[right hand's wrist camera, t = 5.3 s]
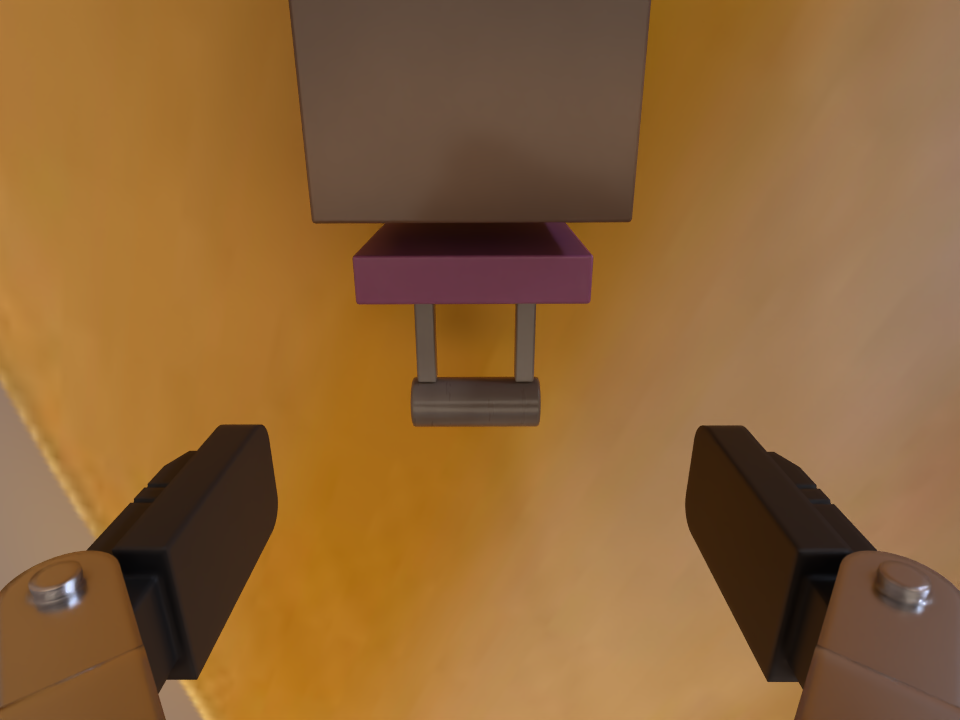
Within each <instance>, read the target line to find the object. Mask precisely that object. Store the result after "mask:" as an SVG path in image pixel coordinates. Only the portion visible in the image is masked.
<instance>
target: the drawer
mask: <svg viewBox="0 0 960 720" xmlns="http://www.w3.org/2000/svg"><path fill="white" fill-rule="evenodd" d="M353 269H354V281H355V293H356V302H357V304H414V311H415V333H416V354H417V376H418V377H415V378H414V379H413V382H412V388H411V417H412V423H413V425H414V426H416V427H486V426H538V425H539V422H540V409H541V399H540V384H539V380H538V378H537V377H534V353H535V321H536V304H587V303H589V302H590V299H591V284H592V269H593V256H592V254H591V253H590V252H589V251H588V250H587V248H586V247H585V246H584V245H583V244H582V242H581V241H580V240H579V239H578V238H577V236H576V235H575V234H574V233H573V232H572V230H571V229H570V228H569V227H568V226H567V224H566V223H565V222H540V223H385V224H384V225H383V226H382V227H381V228H380V229H379V230H378V231H377V232H376V233H375V234H374V236H373V237H372V238H371V239H370V240H369V241H368V242H367V243H366V244H365V245H364V246H363V247H362V248H361V249H360V250H359V251H358V252H357V253H356V254H355V255H354V256H353ZM435 304H515V354H514V377H437V375H438V374H437V344H436V314H435Z"/></svg>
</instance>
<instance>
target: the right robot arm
mask: <svg viewBox="0 0 960 720" xmlns="http://www.w3.org/2000/svg"><path fill="white" fill-rule="evenodd" d="M277 509H278V497H277V490H276V483H275V476H274V469H273V463H272V456H271V449H270V442H269V436H268V432H267V430H266V428H265V427H264V426H263V425H220V426H218V427H217V428H216V429H215V431H214V432H213V433H212V434H211V435H210V436H209V438H208V439H207V440H206V441H205V442H204V443H203V445H202V446H201V447H200V448H199V449H198V450H197V451H189V452H187V453H185V454H184V455H182V456H180V457H179V458H177V459H175V460H174V461H172V462H170V463H169V464H167V465H165V466H164V467H163V468H162V469H161V470H160V471H159V472H158V473H157V474H156V476H155V477H154V478H153V479H152V480H151V481H150V482H149V483H148V487H147V488H144V489H143V490H142V491H141V492H140V493H139V494H138V495H137V496H136V497H135V498H134V503H130V504H129V505H128V506H127V507H126V508H125V509H124V510H123V511H122V512H121V514H120V515H119V516H118V517H117V518H116V519H115V520H114V521H113V522H112V523H111V524H110V526H109V527H108V528H107V529H106V530H105V531H104V532H103V533H102V534H101V535H100V536H99V537H98V539H97V540H96V541H95V542H94V543H93V544H92V545H91V546H90V547H89V548H88V549H87V550H86V551H79V552H73V553H68V554H64V555H61V556H57V557H54V558H52V559H49V560H46V561H44V562H42V563H39V564H37V565H35V566H33V567H31V568H30V569H28V570H26V571H24V572H23V573H21V574H20V575H18V576H17V577H16V578H14V579H13V580H12V581H11V582H9V583H8V584H7V585H6V586H5V587H4V588H3V589H2V590H1V591H0V720H166V719H165V716H164V712H163V709H162V705H161V702H160V699H159V695H158V694H159V692H160V690H161V688H162V686H163V685H164V683H165V681H166V680H197V679H198V677H199V675H200V673H201V671H202V669H203V667H204V665H205V663H206V661H207V659H208V657H209V655H210V653H211V651H212V649H213V647H214V645H215V643H216V641H217V639H218V637H219V635H220V633H221V631H222V630H223V628H224V626H225V624H226V622H227V620H228V618H229V616H230V614H231V612H232V610H233V608H234V606H235V604H236V602H237V600H238V598H239V596H240V594H241V592H242V590H243V588H244V586H245V584H246V582H247V580H248V578H249V576H250V574H251V573H252V571H253V569H254V567H255V565H256V563H257V561H258V559H259V557H260V555H261V553H262V551H263V549H264V547H265V545H266V543H267V541H268V539H269V537H270V535H271V533H272V531H273V529H274V526H275V522H276V518H277ZM685 509H686V518H687V523H688V527H689V530H690V532H691V534H692V536H693V538H694V540H695V542H696V544H697V546H698V548H699V550H700V552H701V553H702V555H703V557H704V559H705V561H706V563H707V565H708V567H709V569H710V571H711V573H712V575H713V577H714V579H715V581H716V583H717V585H718V586H719V588H720V590H721V592H722V594H723V596H724V598H725V600H726V602H727V604H728V606H729V608H730V610H731V612H732V614H733V616H734V618H735V620H736V621H737V623H738V625H739V627H740V629H741V631H742V633H743V635H744V637H745V639H746V641H747V643H748V645H749V647H750V649H751V651H752V653H753V654H754V656H755V658H756V660H757V662H758V664H759V666H760V668H761V670H762V672H763V674H764V676H765V678H766V680H767V682H799V683H800V685H801V687H802V689H803V692H802V695H801V698H800V702H799V705H798V709H797V712H796V716H795V719H794V720H960V591H959V590H958V589H957V588H956V587H955V586H954V585H953V584H952V583H951V582H949V581H948V580H947V579H946V578H945V577H943V576H942V575H940V574H939V573H937V572H936V571H934V570H932V569H930V568H929V567H927V566H925V565H923V564H921V563H918V562H916V561H914V560H911V559H908V558H906V557H903V556H899V555H896V554H892V553H887V552H881V551H877V550H876V549H875V548H874V547H873V546H872V544H871V543H870V542H869V541H868V540H867V539H866V538H865V537H864V536H863V535H862V534H861V533H860V532H859V530H858V529H857V528H856V527H855V526H854V525H853V524H852V523H851V522H850V521H849V520H848V519H847V518H846V517H845V515H844V514H843V513H842V512H841V511H840V510H839V509H838V508H837V507H836V506H835V505H834V504H831V503H830V499H829V498H828V497H827V496H826V495H825V494H824V493H823V492H822V491H821V490H820V489H817V488H816V484H815V483H814V482H813V481H812V480H811V479H810V478H809V477H808V476H807V475H806V473H805V472H804V471H803V470H802V469H801V468H800V467H798V466H797V465H795V464H793V463H792V462H790V461H788V460H787V459H785V458H783V457H782V456H780V455H778V454H777V453H775V452H766V450H765V449H764V448H763V447H762V446H761V445H760V443H759V442H758V441H757V440H756V439H755V438H754V437H753V435H752V434H751V433H750V432H749V431H748V430H747V429H746V428H745V427H744V426H700V427H699V428H698V429H697V431H696V434H695V438H694V445H693V451H692V458H691V465H690V471H689V478H688V485H687V491H686V499H685Z"/></svg>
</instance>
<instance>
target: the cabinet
mask: <svg viewBox="0 0 960 720" xmlns="http://www.w3.org/2000/svg"><path fill="white" fill-rule="evenodd" d="M650 6H651V0H289V8H290V18H291V27H292V37H293V46H294V55H295V65H296V74H297V84H298V93H299V102H300V112H301V121H302V131H303V140H304V149H305V159H306V168H307V178H308V187H309V197H310V206H311V215H312V221H313V223H540V222H630V221H631V219H632V212H633V200H634V189H635V177H636V166H637V155H638V143H639V132H640V120H641V109H642V97H643V86H644V75H645V63H646V52H647V40H648V29H649V17H650Z"/></svg>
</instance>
